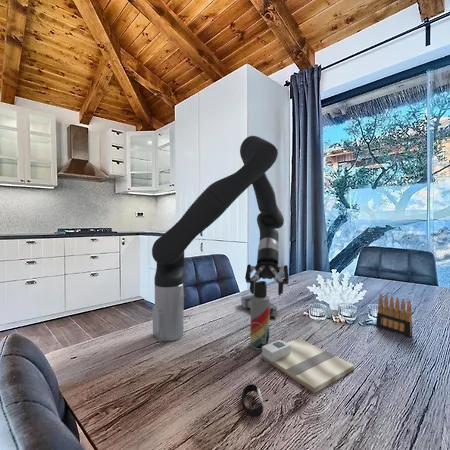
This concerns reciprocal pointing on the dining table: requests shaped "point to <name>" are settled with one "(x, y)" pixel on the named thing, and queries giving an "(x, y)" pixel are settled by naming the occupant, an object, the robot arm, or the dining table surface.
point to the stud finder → (276, 350)
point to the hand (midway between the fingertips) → (265, 293)
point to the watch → (254, 388)
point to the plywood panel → (311, 365)
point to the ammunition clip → (394, 316)
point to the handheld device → (247, 304)
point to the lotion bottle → (259, 316)
